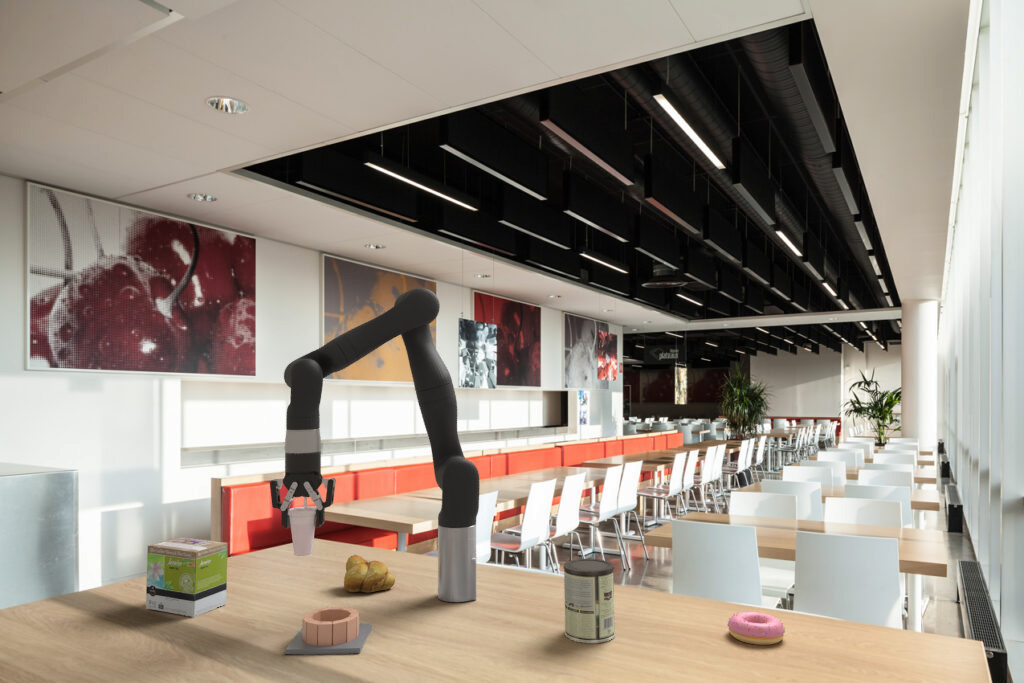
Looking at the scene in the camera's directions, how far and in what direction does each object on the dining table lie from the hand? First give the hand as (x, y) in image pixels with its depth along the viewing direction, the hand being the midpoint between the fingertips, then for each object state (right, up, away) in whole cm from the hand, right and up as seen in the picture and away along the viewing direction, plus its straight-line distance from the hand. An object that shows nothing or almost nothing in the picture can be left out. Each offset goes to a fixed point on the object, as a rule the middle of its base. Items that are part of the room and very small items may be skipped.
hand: (302, 527), depth 153 cm
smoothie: (0, -6, 0) cm, 6 cm away
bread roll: (+10, -22, +22) cm, 33 cm away
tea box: (-29, -21, +9) cm, 37 cm away
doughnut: (+95, -19, -12) cm, 97 cm away
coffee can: (+61, -20, -10) cm, 65 cm away
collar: (+9, -19, -13) cm, 25 cm away
